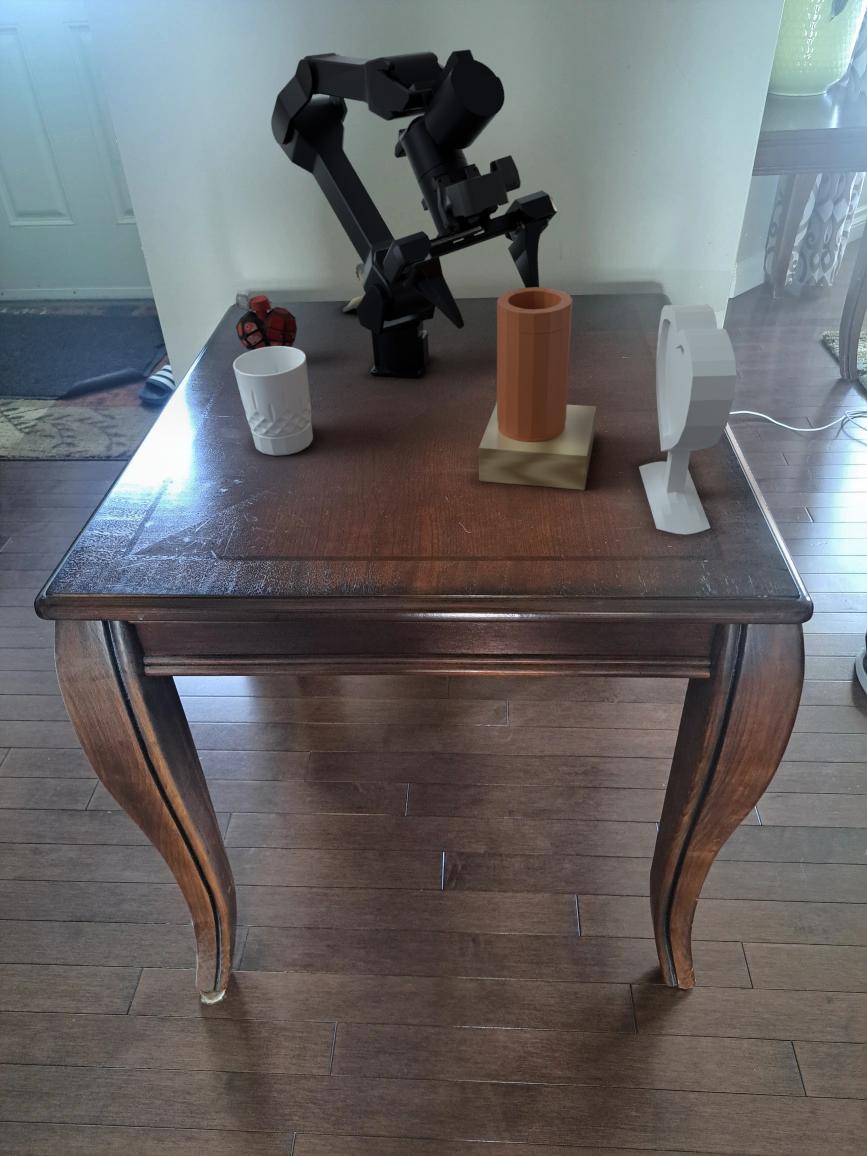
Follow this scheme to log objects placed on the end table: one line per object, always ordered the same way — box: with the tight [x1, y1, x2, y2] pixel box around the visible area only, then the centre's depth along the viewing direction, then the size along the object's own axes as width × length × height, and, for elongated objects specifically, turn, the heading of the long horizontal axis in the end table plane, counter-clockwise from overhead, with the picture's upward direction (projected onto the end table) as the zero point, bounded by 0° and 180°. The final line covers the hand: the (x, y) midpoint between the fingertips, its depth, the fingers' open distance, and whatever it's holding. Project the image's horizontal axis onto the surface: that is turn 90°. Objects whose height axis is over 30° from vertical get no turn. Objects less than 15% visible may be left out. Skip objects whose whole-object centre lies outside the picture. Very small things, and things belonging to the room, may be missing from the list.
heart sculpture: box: [638, 303, 737, 536], centre depth 78 cm, size 16×5×18 cm, turn 177°
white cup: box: [232, 346, 314, 456], centre depth 93 cm, size 8×8×10 cm
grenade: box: [235, 289, 298, 352], centre depth 111 cm, size 5×8×10 cm, turn 99°
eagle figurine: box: [342, 262, 364, 313], centre depth 127 cm, size 8×7×9 cm
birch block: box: [478, 402, 597, 491], centre depth 89 cm, size 11×11×4 cm
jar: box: [496, 286, 574, 442], centre depth 84 cm, size 7×7×14 cm
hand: (499, 313), depth 89 cm, fingers open, 9 cm apart
